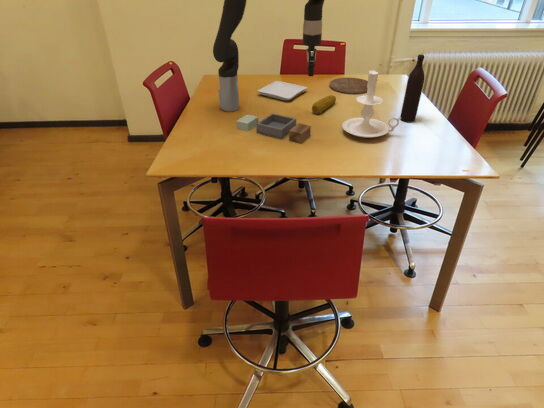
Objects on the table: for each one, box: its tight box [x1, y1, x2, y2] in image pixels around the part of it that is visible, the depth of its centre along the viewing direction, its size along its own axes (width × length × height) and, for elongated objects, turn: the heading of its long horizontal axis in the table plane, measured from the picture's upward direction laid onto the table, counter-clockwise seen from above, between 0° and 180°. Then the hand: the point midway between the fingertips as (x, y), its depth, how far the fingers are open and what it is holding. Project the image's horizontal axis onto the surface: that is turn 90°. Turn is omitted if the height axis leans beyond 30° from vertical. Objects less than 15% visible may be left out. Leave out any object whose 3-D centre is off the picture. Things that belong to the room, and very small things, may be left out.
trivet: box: [329, 77, 368, 95], centre depth 222 cm, size 25×25×2 cm
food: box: [311, 94, 337, 115], centre depth 195 cm, size 21×6×6 cm, turn 147°
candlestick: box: [341, 70, 401, 139], centre depth 164 cm, size 21×25×28 cm
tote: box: [255, 112, 297, 140], centre depth 174 cm, size 13×14×4 cm
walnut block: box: [288, 122, 312, 145], centre depth 167 cm, size 6×9×5 cm, turn 149°
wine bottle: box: [399, 54, 425, 123], centre depth 175 cm, size 7×7×30 cm
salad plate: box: [256, 80, 308, 101], centre depth 213 cm, size 21×21×3 cm
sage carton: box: [236, 114, 259, 132], centre depth 178 cm, size 6×9×4 cm, turn 149°
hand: (310, 72), depth 161 cm, fingers open, 8 cm apart
